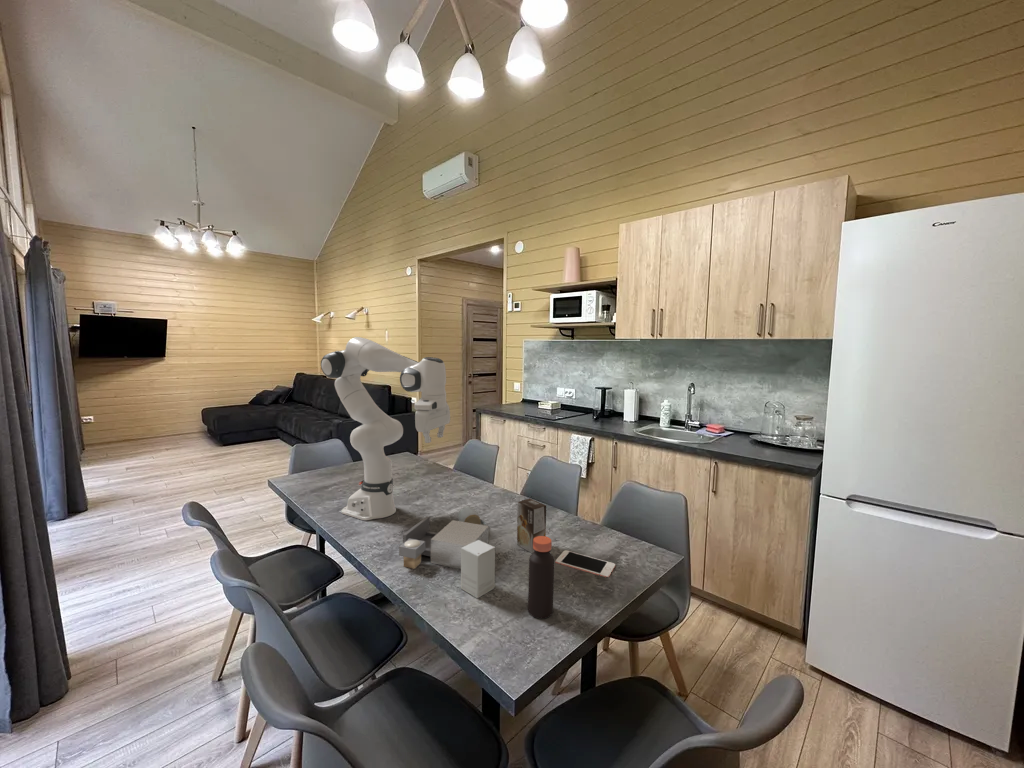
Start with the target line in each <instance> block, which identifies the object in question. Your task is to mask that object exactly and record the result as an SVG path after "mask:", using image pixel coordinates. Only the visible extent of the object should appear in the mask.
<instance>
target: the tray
mask: <svg viewBox="0 0 1024 768" xmlns="http://www.w3.org/2000/svg"><path fill="white" fill-rule="evenodd" d="M430 528H431V517H430V516H428V515H427V516H425V517H424V518H423V519H421V520H420V521H419V522H417V523H415V525H414V526H412V527H411V528H409V529H408V530H407V531H405V532H404V533H403V534H402V544H403V543H404V542H405V541H407V540H408V539H409V538H410V539H416V540H421V541H425V551H424V552H423V553H422V554H421V556H427V557H431V539H432V538H433V537H434V536H435V535H436V534H437V533H438V532H436V531H431V529H430ZM402 557H403V558H404V556H402Z"/></svg>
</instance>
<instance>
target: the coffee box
mask: <svg viewBox="0 0 1024 768" xmlns="http://www.w3.org/2000/svg"><path fill="white" fill-rule="evenodd" d="M516 513H517V518H516V519H517V520H516V521H517V522H516V523H517V525H516V527H517V528H516V529H517V531H516V545H517V546H518V547H520V548H522V549H524V550H525V551H526V552H528V553H530V554H532V553H533V552H534V550H533V539H534V538H535V537H537V536H546V537H547V535H546V533H547V531H546V530H547V529H546V528H547V504H545V503H542V502H540V501H537V500H535V499H532V498H526V499H522V500H520V501H517V512H516Z"/></svg>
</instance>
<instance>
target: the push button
mask: <svg viewBox="0 0 1024 768" xmlns="http://www.w3.org/2000/svg"><path fill="white" fill-rule="evenodd" d="M398 551H399V552H398V556H400V557H403V556H404V557H409V558H414V559H416V558H417V557H418V556H419V555H420V554H422V553H423V552H424V551H425V541H421V540H416V539H410V538H409V539H408V540H407V541H405V542H404V543H403V542H402V544H400V545H399V546H398ZM404 557H403V558H404Z"/></svg>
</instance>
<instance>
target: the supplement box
mask: <svg viewBox="0 0 1024 768" xmlns="http://www.w3.org/2000/svg"><path fill="white" fill-rule="evenodd" d="M495 571H496V546H494V545H491V544H489V543H488V544H487V543H484V542H482V541H480V540H477V541H475V542H473V543H470V544H468V545H466V546H464V547H462V548H461V569H460V589H461V590H462V591H464V592H466V593H468V594H469V595H471V596H472V597H474V598H476V599H479V598H480V597H482V596H484V595H485V594H487V593H489V592H490V591H493V590H494V589H495V585H496V582H495V580H496V578H495V577H496V576H495V575H496V573H495Z"/></svg>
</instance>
